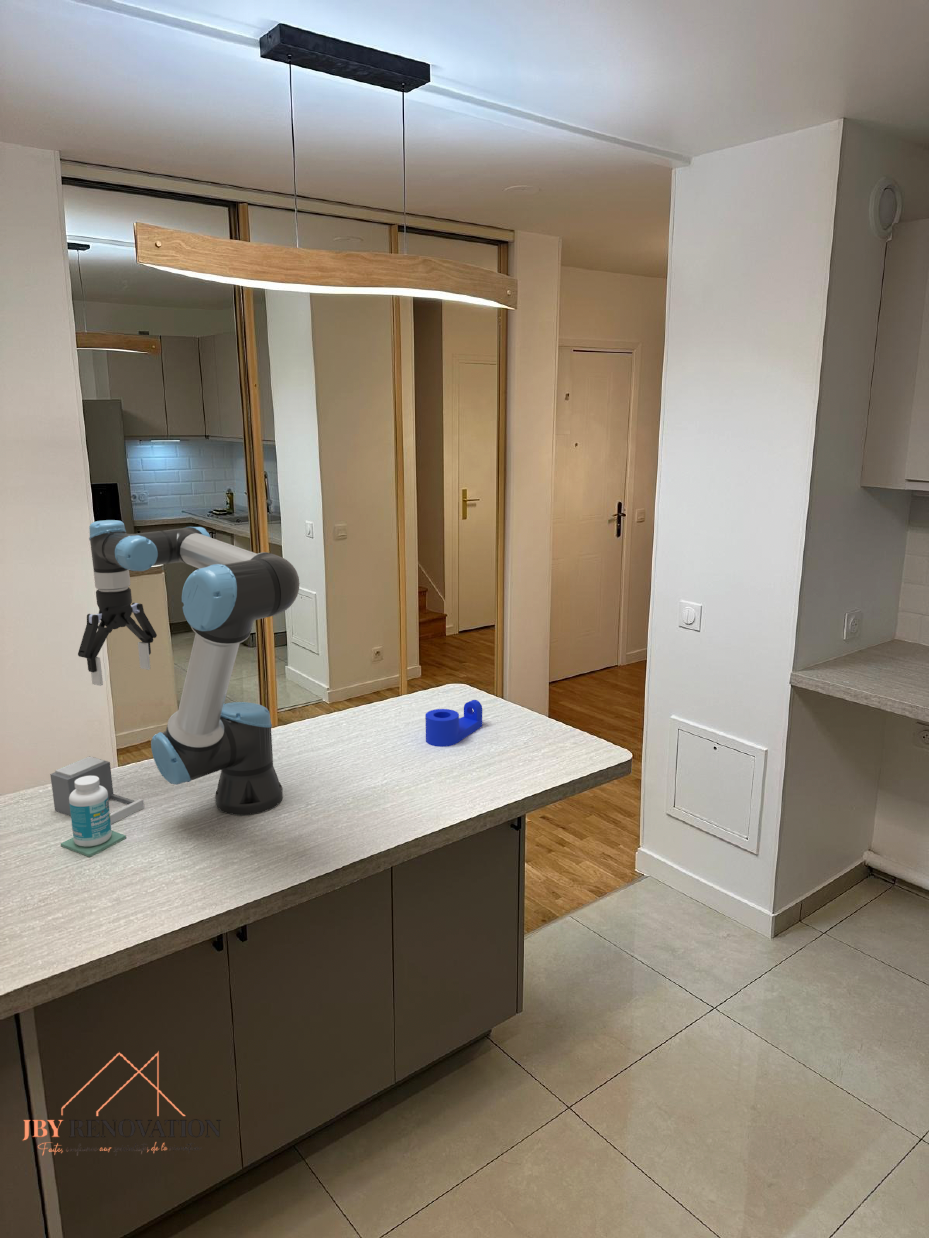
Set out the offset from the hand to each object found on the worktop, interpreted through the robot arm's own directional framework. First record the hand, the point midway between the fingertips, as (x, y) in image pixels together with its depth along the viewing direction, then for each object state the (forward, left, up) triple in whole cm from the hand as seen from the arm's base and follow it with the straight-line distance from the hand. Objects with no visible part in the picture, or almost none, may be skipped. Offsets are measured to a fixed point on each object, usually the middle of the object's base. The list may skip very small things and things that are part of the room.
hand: (122, 676), depth 201 cm
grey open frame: (-6, +14, -27) cm, 31 cm away
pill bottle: (-17, +24, -26) cm, 40 cm away
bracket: (-53, -65, -27) cm, 88 cm away
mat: (-17, +24, -27) cm, 40 cm away
